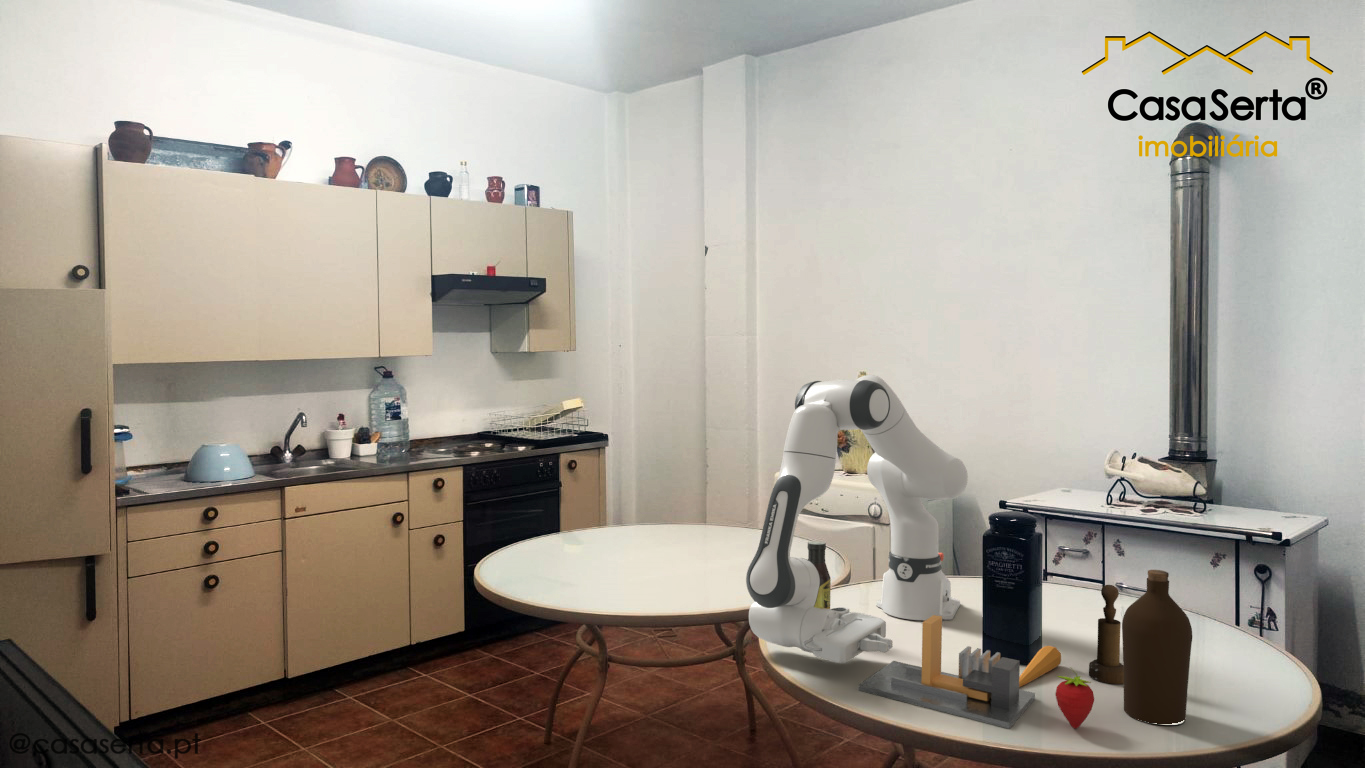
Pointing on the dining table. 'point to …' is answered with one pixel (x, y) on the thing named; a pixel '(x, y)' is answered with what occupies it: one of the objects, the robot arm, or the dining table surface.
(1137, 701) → the olive oil
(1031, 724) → the dining table surface
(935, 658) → the orange l-shaped block
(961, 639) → the dining table surface
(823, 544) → the sauce bottle
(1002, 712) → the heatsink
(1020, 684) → the carrot
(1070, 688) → the strawberry
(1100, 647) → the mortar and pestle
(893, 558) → the robot arm
